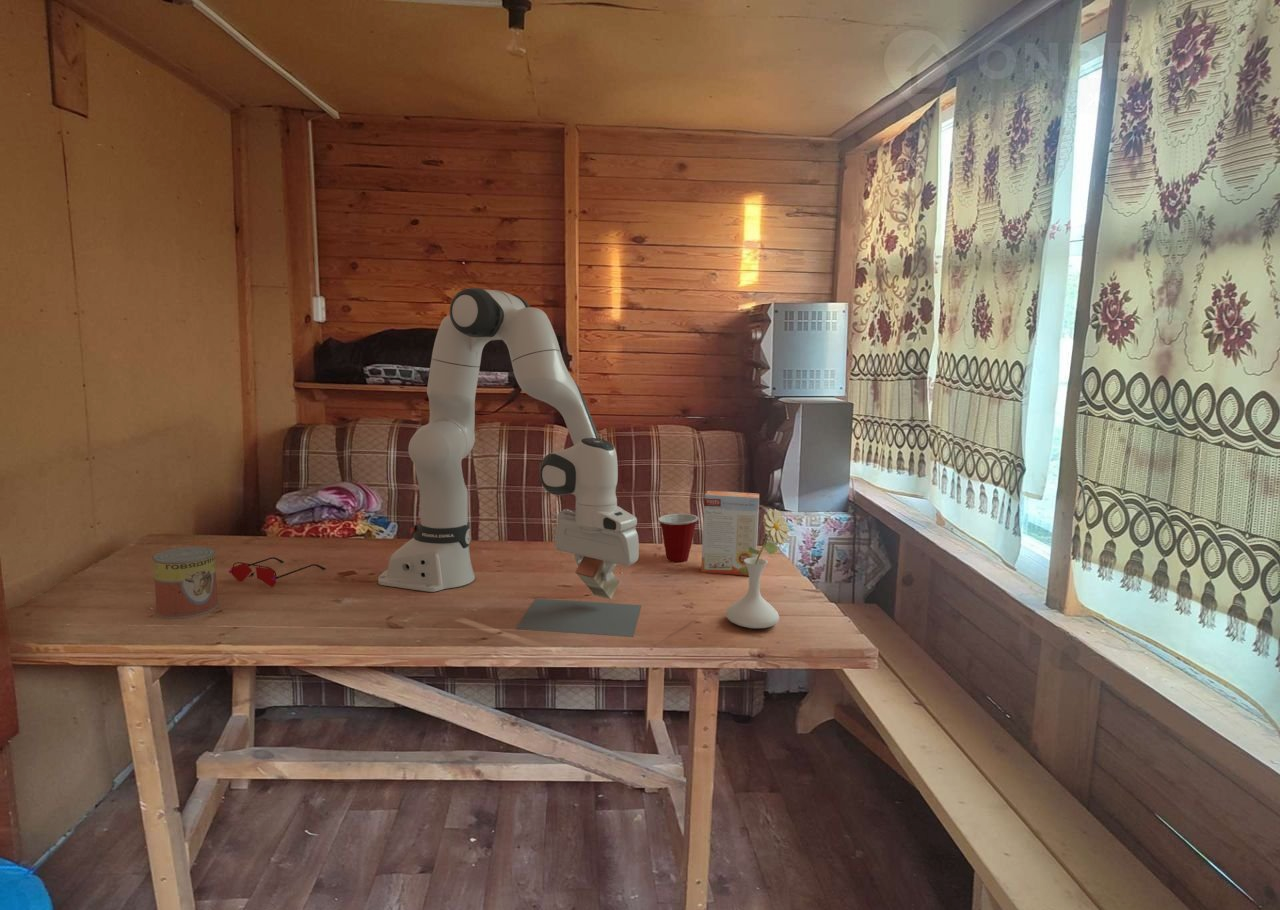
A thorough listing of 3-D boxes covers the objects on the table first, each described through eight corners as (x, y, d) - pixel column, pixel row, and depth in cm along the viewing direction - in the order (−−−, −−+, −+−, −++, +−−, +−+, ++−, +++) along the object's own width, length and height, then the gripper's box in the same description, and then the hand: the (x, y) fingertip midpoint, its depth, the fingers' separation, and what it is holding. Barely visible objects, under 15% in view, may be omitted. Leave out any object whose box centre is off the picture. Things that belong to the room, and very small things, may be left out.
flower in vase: (743, 636, 155) (749, 517, 151) (715, 617, 165) (721, 505, 161) (796, 628, 160) (804, 513, 156) (766, 610, 170) (773, 501, 166)
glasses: (228, 582, 178) (227, 561, 177) (282, 563, 194) (282, 544, 193) (274, 590, 174) (273, 569, 173) (326, 570, 189) (325, 551, 188)
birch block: (611, 599, 165) (592, 576, 158) (594, 594, 168) (575, 572, 161) (619, 581, 167) (601, 558, 160) (603, 577, 170) (584, 554, 163)
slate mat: (515, 632, 153) (515, 628, 153) (535, 601, 170) (535, 598, 170) (633, 640, 151) (633, 636, 151) (641, 608, 168) (641, 605, 168)
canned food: (176, 622, 152) (172, 565, 151) (144, 611, 158) (140, 555, 156) (229, 606, 162) (226, 552, 160) (198, 595, 168) (195, 543, 166)
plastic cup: (656, 553, 212) (658, 511, 210) (695, 554, 211) (697, 512, 210) (656, 564, 201) (657, 520, 199) (696, 566, 201) (698, 522, 199)
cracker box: (755, 570, 199) (760, 492, 196) (755, 577, 193) (759, 497, 190) (702, 565, 201) (706, 489, 198) (700, 572, 195) (704, 493, 192)
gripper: (548, 510, 164) (548, 571, 166) (626, 525, 153) (625, 590, 155) (567, 505, 169) (566, 564, 171) (643, 519, 158) (641, 582, 160)
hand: (594, 577), depth 163 cm, fingers closed on birch block, 4 cm apart
